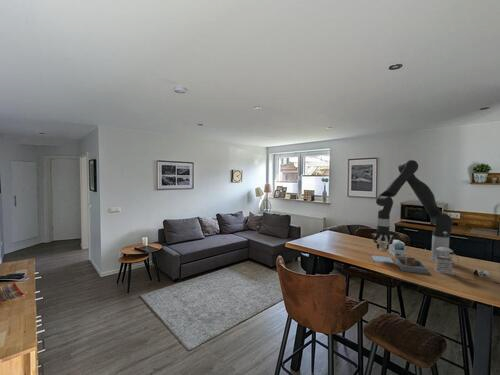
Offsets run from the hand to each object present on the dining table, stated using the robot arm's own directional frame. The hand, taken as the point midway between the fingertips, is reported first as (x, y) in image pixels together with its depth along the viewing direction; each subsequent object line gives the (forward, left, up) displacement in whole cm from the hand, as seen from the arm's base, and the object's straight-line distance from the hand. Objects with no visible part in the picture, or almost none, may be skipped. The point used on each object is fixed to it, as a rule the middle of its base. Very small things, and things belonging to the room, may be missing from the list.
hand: (382, 249), depth 165 cm
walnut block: (-15, +8, -7) cm, 18 cm away
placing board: (0, 0, -8) cm, 8 cm away
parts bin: (-15, +11, -8) cm, 20 cm away
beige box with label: (0, 0, -1) cm, 1 cm away
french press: (-33, +10, -8) cm, 35 cm away
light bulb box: (-12, -15, -8) cm, 20 cm away
